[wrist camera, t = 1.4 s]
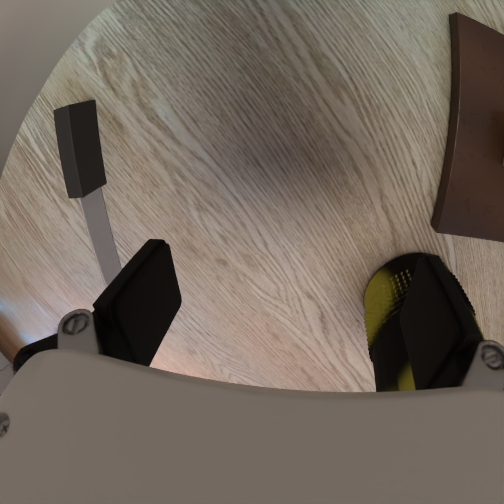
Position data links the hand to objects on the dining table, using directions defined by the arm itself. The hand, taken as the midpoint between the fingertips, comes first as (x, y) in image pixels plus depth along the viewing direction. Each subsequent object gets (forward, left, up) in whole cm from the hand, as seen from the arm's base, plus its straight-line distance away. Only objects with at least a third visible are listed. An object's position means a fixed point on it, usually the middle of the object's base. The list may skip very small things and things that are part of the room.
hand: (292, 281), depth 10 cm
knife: (+2, -20, -15) cm, 25 cm away
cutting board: (-6, +21, -15) cm, 26 cm away
